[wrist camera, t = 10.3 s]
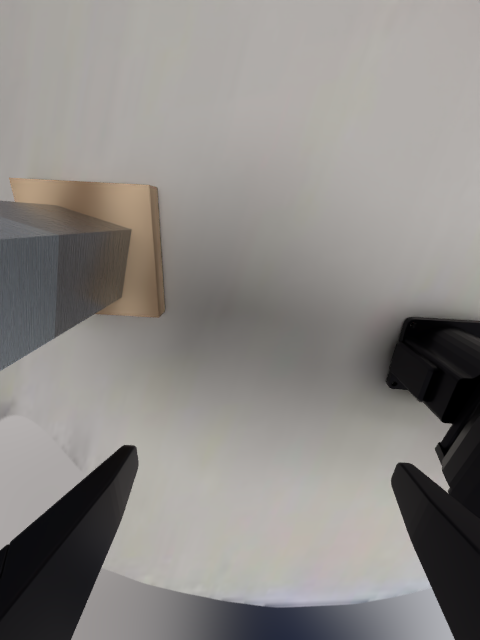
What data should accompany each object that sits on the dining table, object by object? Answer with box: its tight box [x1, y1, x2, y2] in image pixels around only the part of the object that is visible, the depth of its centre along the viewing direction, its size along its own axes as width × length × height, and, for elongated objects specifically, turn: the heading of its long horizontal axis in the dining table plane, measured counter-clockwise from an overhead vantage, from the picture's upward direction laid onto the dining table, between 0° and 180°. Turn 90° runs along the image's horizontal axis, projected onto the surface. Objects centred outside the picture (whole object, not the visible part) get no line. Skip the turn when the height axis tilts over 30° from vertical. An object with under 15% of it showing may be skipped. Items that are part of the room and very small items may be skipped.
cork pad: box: [9, 178, 165, 318], centre depth 18 cm, size 9×9×2 cm
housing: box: [0, 201, 132, 371], centre depth 12 cm, size 5×5×13 cm
